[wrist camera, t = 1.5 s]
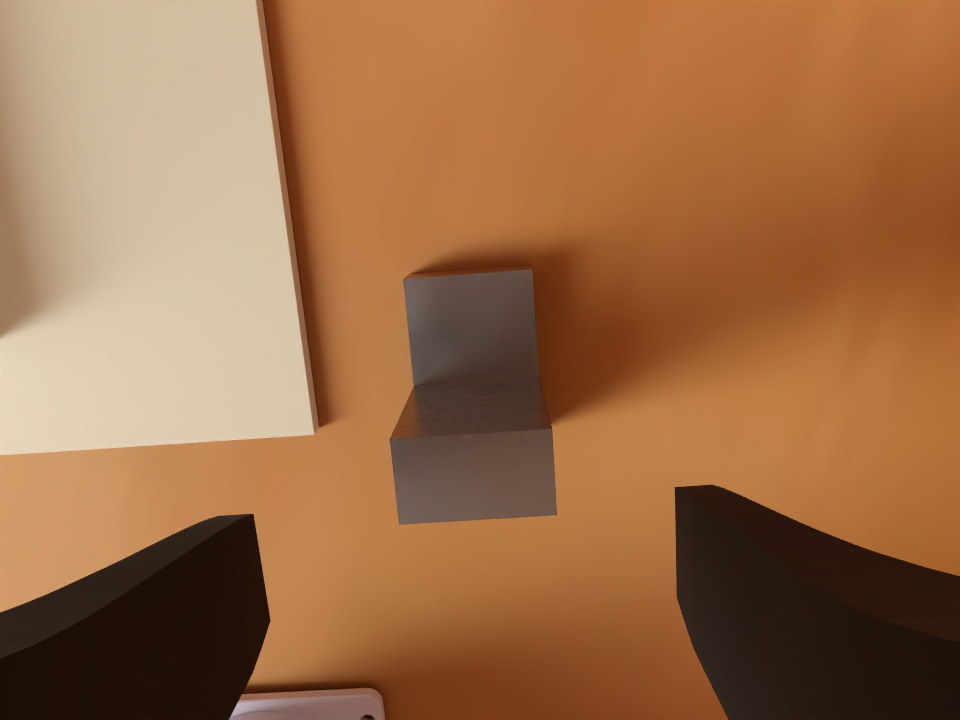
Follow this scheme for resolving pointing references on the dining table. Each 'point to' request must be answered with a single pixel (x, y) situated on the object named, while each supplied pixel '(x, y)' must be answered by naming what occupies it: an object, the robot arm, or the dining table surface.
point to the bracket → (473, 401)
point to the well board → (144, 229)
